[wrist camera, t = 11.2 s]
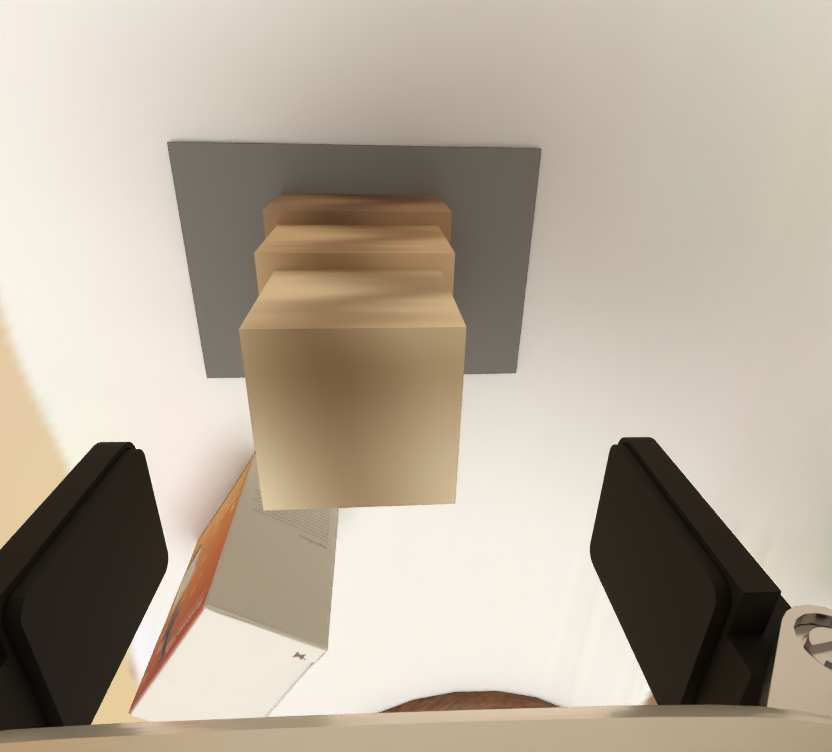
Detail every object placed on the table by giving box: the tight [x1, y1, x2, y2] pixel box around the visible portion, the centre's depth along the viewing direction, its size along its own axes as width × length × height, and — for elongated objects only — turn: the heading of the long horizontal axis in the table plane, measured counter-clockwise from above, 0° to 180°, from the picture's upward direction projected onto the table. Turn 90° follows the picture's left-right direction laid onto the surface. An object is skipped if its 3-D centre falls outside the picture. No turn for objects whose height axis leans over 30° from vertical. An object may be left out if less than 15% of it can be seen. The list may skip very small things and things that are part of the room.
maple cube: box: [239, 269, 466, 511], centre depth 15 cm, size 5×5×5 cm
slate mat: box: [167, 142, 541, 378], centre depth 26 cm, size 16×11×1 cm
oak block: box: [254, 224, 455, 296], centre depth 19 cm, size 6×6×4 cm
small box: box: [129, 453, 339, 722], centre depth 27 cm, size 8×6×10 cm
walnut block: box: [262, 194, 452, 244], centre depth 23 cm, size 7×7×4 cm
